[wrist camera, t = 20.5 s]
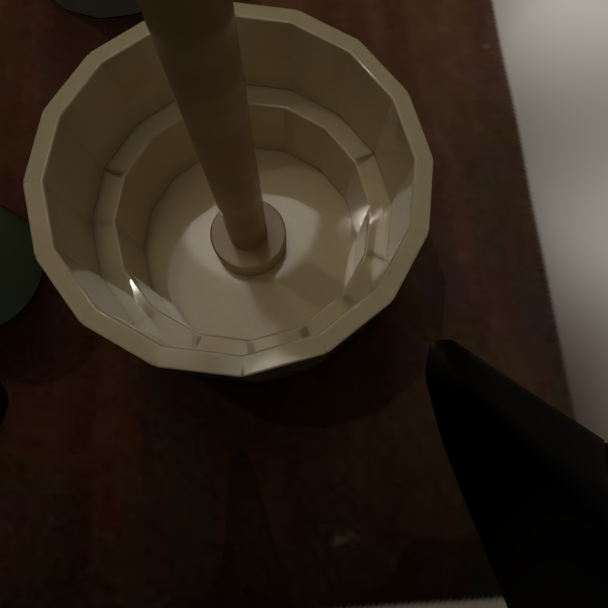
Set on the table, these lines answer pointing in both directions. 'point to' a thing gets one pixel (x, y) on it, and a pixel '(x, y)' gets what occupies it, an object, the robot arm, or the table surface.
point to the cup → (101, 7)
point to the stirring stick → (218, 125)
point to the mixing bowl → (202, 207)
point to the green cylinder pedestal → (16, 264)
